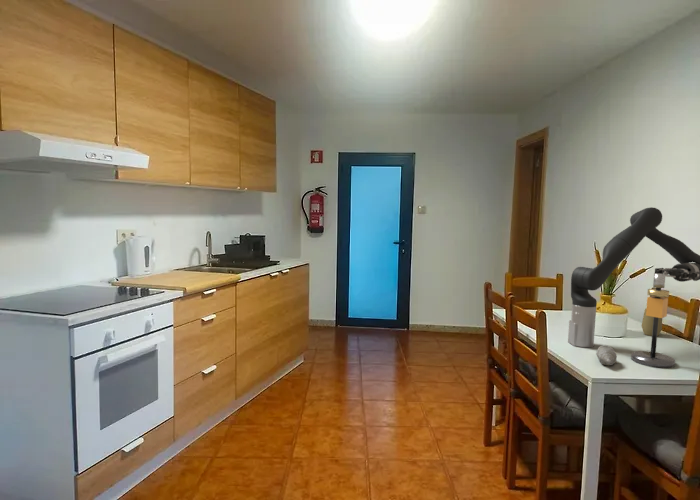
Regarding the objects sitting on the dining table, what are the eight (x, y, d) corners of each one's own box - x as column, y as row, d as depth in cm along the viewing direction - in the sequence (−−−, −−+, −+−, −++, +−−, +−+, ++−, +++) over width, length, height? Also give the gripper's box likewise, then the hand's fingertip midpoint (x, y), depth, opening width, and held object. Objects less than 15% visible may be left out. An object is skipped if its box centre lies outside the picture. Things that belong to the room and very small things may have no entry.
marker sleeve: (661, 318, 171) (663, 299, 171) (645, 315, 175) (647, 297, 175) (666, 316, 175) (668, 298, 174) (651, 313, 179) (652, 295, 178)
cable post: (666, 370, 167) (675, 278, 164) (625, 360, 178) (631, 273, 175) (680, 363, 176) (688, 275, 172) (639, 353, 187) (646, 270, 183)
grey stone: (598, 360, 168) (603, 339, 170) (592, 363, 180) (597, 344, 182) (617, 367, 166) (622, 345, 167) (610, 369, 178) (615, 349, 179)
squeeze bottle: (655, 338, 210) (658, 299, 208) (637, 333, 217) (640, 295, 215) (665, 336, 213) (668, 297, 212) (647, 331, 221) (650, 294, 219)
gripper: (666, 261, 198) (650, 263, 189) (706, 265, 187) (691, 267, 178) (665, 278, 199) (648, 281, 190) (704, 283, 188) (689, 286, 178)
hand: (669, 274), depth 184 cm, fingers open, 8 cm apart
